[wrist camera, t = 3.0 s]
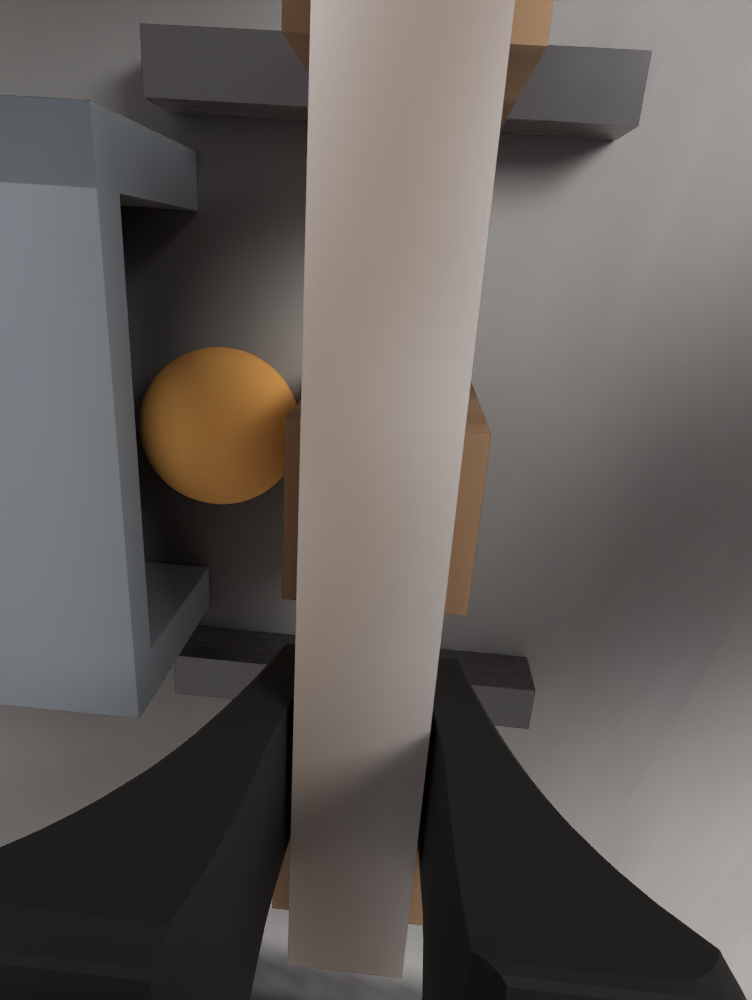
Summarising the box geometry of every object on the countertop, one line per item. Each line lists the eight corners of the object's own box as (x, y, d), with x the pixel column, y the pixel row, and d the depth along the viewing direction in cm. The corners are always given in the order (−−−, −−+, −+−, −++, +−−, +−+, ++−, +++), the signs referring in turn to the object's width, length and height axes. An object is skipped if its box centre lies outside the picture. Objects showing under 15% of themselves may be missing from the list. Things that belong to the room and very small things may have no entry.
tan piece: (505, 36, 12) (600, -233, 6) (428, 710, 18) (430, 982, 11) (349, 27, 12) (260, -245, 6) (321, 700, 18) (259, 961, 11)
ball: (303, 328, 13) (124, 319, 13) (301, 499, 13) (118, 496, 12) (299, 374, 17) (158, 368, 16) (297, 509, 16) (154, 508, 16)
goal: (196, 151, 14) (89, 99, 10) (209, 605, 18) (139, 718, 14) (-76, 134, 14) (-302, 76, 10) (-4, 585, 18) (-141, 690, 14)
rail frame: (627, 73, 13) (651, 50, 12) (520, 693, 18) (528, 728, 17) (169, 48, 14) (139, 23, 12) (194, 660, 19) (175, 693, 17)
